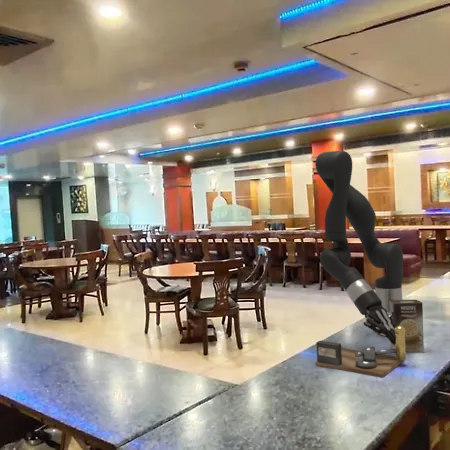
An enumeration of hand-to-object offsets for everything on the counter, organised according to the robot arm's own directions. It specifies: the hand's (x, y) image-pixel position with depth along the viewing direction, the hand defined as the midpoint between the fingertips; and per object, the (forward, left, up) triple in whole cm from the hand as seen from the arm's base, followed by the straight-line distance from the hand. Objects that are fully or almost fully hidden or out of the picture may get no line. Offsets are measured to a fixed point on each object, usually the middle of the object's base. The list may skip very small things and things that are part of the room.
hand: (397, 342), depth 145 cm
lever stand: (+5, -10, -6) cm, 13 cm away
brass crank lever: (+6, -3, -5) cm, 8 cm away
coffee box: (-14, -2, -6) cm, 16 cm away
